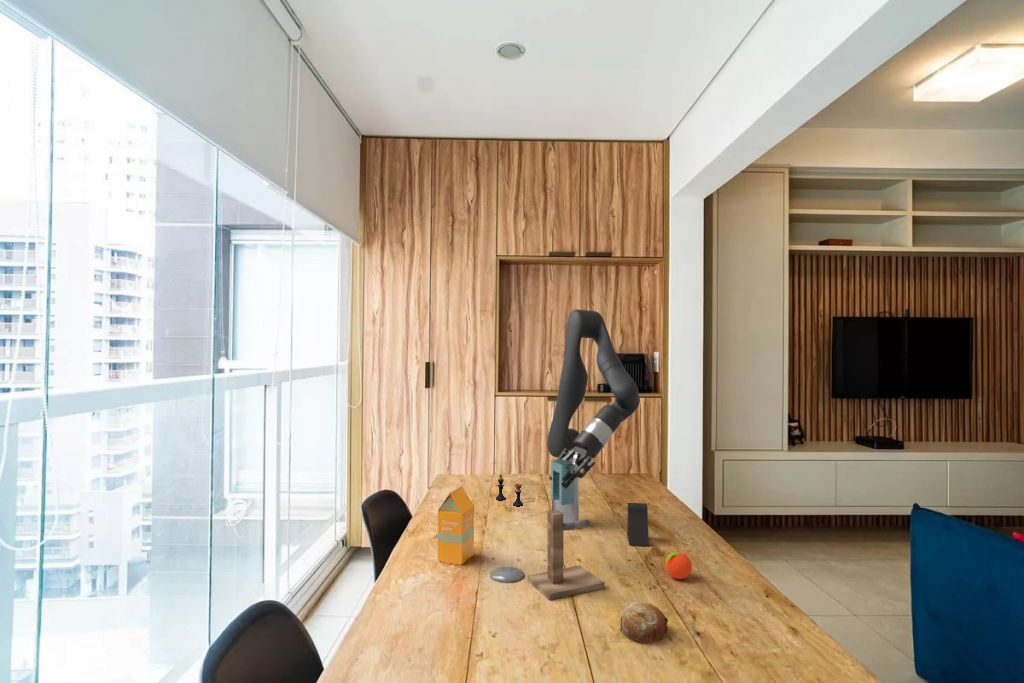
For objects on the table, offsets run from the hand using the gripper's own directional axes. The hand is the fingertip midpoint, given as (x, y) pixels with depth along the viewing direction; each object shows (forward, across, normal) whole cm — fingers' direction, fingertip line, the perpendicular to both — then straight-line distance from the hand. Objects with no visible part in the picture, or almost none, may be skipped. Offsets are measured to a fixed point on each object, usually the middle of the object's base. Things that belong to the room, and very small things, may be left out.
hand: (557, 483), depth 150 cm
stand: (+19, +9, +15) cm, 26 cm away
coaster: (+27, -2, +7) cm, 28 cm away
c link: (+2, 0, +5) cm, 5 cm away
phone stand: (-7, -9, +42) cm, 43 cm away
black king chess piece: (+6, -68, +30) cm, 74 cm away
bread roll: (+16, +36, +18) cm, 43 cm away
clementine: (-2, +18, +36) cm, 40 cm away
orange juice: (+33, -20, +1) cm, 39 cm away
